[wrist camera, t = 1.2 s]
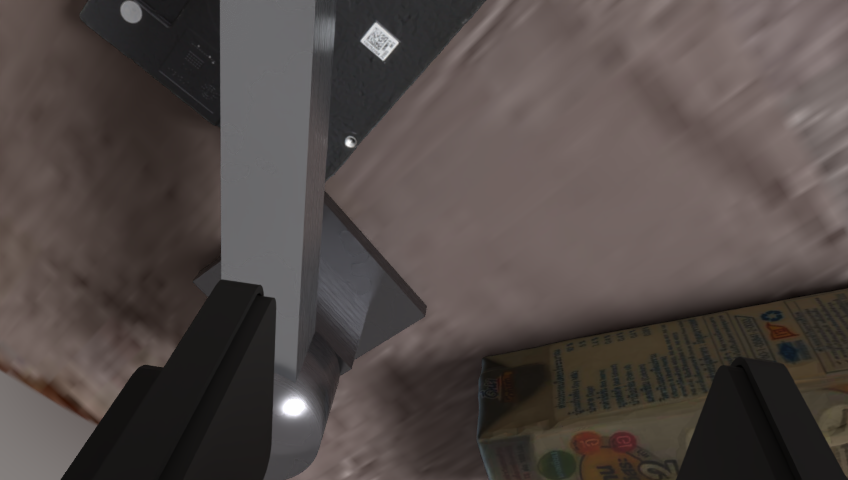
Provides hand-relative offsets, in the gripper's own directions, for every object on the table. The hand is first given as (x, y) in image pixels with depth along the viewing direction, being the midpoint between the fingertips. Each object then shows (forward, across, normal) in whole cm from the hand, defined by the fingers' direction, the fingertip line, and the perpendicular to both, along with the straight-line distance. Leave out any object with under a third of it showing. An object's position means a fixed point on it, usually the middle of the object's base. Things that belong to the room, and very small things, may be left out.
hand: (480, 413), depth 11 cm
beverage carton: (+20, -12, +13) cm, 26 cm away
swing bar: (+14, +6, +3) cm, 16 cm away
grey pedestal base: (+20, +6, +11) cm, 23 cm away
